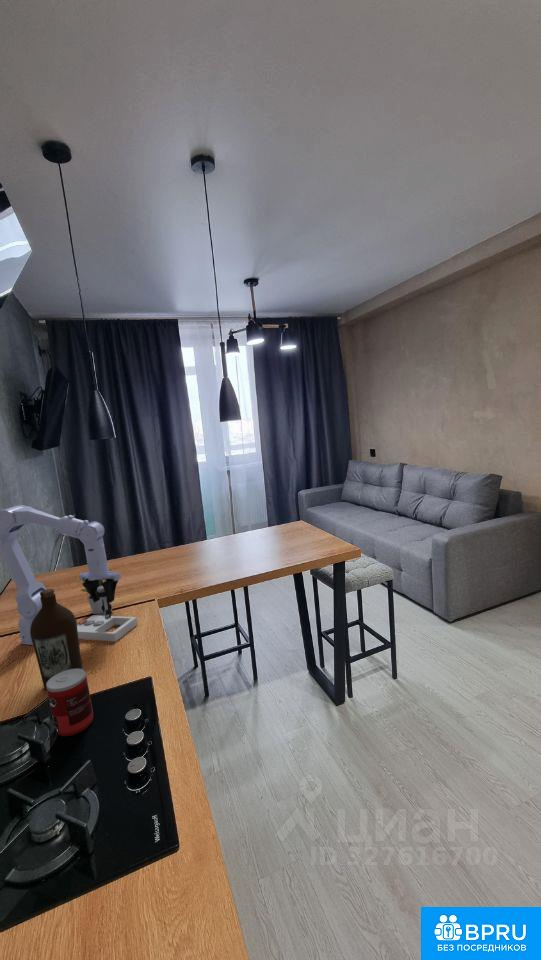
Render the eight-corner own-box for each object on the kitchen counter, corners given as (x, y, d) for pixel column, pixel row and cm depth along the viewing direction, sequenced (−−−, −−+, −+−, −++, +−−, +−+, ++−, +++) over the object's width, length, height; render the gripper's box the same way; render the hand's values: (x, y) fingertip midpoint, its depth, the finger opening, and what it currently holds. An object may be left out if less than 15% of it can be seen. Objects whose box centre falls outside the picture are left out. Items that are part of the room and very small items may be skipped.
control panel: (69, 638, 135) (68, 629, 135) (94, 622, 145) (92, 613, 145) (115, 641, 129) (114, 632, 129) (137, 624, 139) (136, 615, 139)
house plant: (132, 605, 156) (125, 563, 154) (99, 622, 145) (91, 576, 143) (107, 600, 164) (100, 560, 162) (75, 616, 152) (67, 573, 150)
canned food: (63, 715, 96) (54, 671, 95) (99, 710, 97) (90, 665, 95) (48, 740, 88) (38, 692, 87) (87, 733, 89) (78, 685, 88)
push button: (116, 619, 134) (111, 589, 132) (98, 623, 132) (93, 593, 131) (116, 611, 140) (111, 582, 139) (99, 615, 138) (94, 586, 137)
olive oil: (48, 675, 114) (31, 587, 111) (89, 666, 116) (73, 580, 113) (35, 699, 104) (16, 603, 101) (81, 688, 106) (63, 594, 103)
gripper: (69, 564, 132) (76, 605, 134) (106, 564, 127) (114, 607, 129) (85, 557, 139) (92, 596, 140) (121, 557, 134) (128, 597, 136)
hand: (103, 601), depth 135 cm, fingers closed on push button, 5 cm apart
